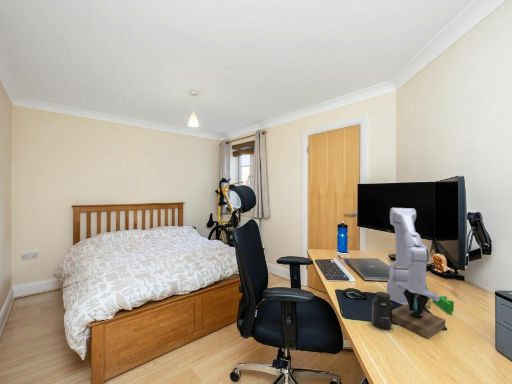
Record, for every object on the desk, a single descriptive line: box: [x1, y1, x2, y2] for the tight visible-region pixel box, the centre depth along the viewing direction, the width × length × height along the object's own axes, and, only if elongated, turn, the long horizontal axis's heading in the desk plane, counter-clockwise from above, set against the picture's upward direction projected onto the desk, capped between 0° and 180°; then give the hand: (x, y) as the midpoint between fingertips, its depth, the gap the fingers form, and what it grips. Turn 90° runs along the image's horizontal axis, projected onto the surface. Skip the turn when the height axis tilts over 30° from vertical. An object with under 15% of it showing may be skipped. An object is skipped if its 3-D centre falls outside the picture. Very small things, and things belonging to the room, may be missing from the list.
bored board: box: [392, 304, 446, 340], centre depth 92 cm, size 14×14×3 cm
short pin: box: [424, 299, 432, 310], centre depth 105 cm, size 2×2×4 cm
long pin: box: [412, 294, 420, 319], centre depth 92 cm, size 2×2×8 cm
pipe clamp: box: [432, 292, 455, 316], centre depth 104 cm, size 11×4×5 cm, turn 173°
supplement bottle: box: [371, 291, 394, 331], centre depth 90 cm, size 7×7×12 cm
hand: (416, 311), depth 91 cm, fingers closed on long pin, 2 cm apart
